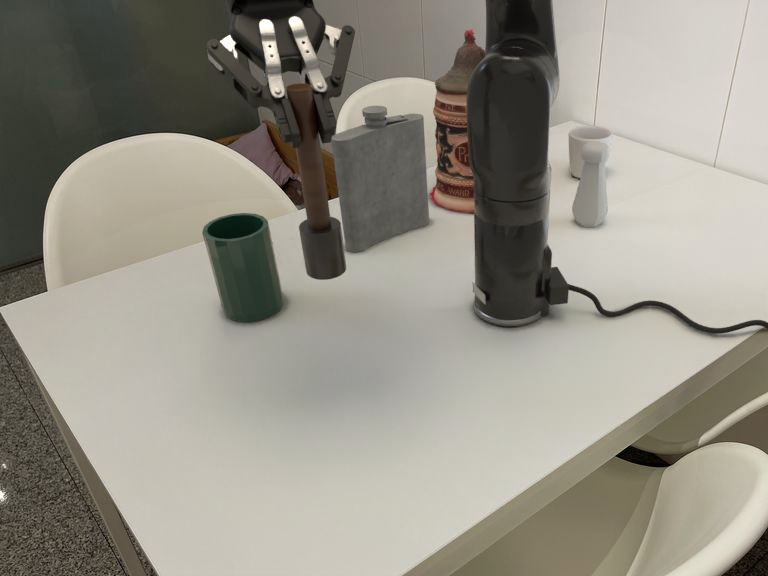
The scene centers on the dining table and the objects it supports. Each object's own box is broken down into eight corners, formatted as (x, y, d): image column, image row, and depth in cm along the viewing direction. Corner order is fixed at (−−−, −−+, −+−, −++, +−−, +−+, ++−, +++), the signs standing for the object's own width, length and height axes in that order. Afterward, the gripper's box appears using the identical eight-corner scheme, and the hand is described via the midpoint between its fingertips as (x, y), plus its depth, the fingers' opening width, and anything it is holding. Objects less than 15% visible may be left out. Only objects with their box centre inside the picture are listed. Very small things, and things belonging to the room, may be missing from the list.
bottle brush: (345, 258, 72) (322, 79, 62) (347, 277, 69) (323, 91, 59) (306, 262, 72) (275, 82, 61) (306, 281, 69) (274, 95, 58)
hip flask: (353, 254, 107) (336, 124, 95) (338, 245, 110) (320, 117, 98) (433, 222, 116) (426, 99, 104) (417, 215, 118) (409, 94, 106)
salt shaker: (566, 226, 114) (572, 148, 106) (575, 212, 118) (581, 136, 110) (602, 231, 112) (610, 152, 104) (610, 217, 116) (618, 140, 108)
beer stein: (482, 232, 118) (538, 187, 129) (490, 66, 98) (555, 29, 109) (406, 200, 124) (465, 160, 135) (398, 38, 105) (468, 7, 116)
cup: (614, 188, 126) (618, 145, 121) (569, 189, 126) (572, 145, 121) (605, 166, 134) (609, 125, 130) (563, 167, 135) (566, 125, 130)
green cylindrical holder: (284, 288, 99) (268, 210, 92) (283, 318, 93) (266, 237, 86) (226, 294, 98) (206, 216, 91) (221, 325, 92) (199, 243, 85)
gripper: (172, -61, 57) (230, 132, 55) (337, -71, 62) (395, 107, 60) (181, 0, 64) (232, 174, 62) (328, -13, 69) (380, 148, 67)
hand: (312, 140), depth 61 cm, fingers closed on bottle brush, 2 cm apart
